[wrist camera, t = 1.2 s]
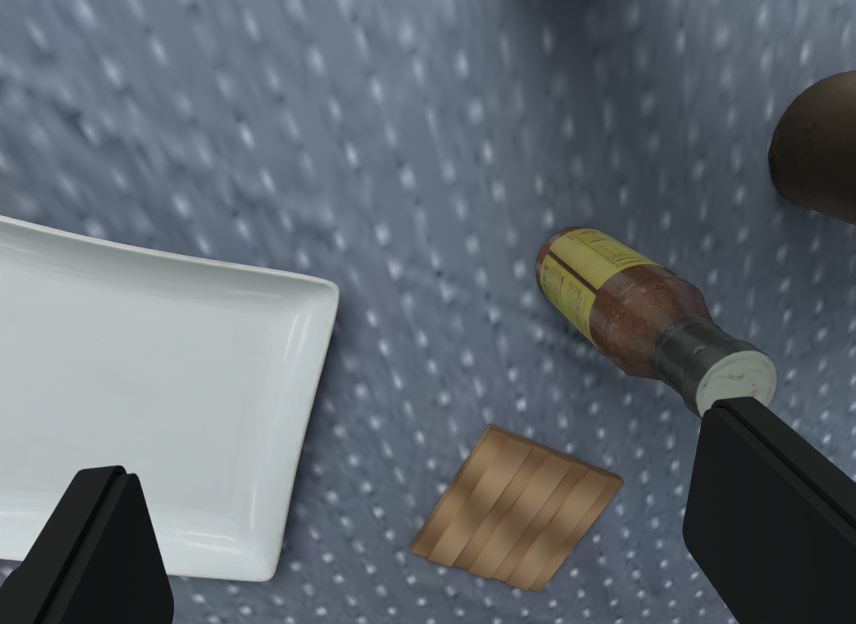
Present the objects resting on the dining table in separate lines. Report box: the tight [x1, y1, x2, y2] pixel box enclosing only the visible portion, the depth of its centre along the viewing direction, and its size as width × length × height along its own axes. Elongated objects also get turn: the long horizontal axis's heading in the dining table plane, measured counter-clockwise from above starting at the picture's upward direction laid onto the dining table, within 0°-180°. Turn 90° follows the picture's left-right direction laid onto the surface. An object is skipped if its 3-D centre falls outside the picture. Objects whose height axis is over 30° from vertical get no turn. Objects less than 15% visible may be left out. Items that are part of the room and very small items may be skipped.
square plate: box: [0, 215, 340, 582], centre depth 43 cm, size 27×27×4 cm
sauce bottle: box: [536, 227, 777, 419], centre depth 36 cm, size 7×6×20 cm
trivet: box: [410, 424, 624, 592], centre depth 54 cm, size 14×14×1 cm
